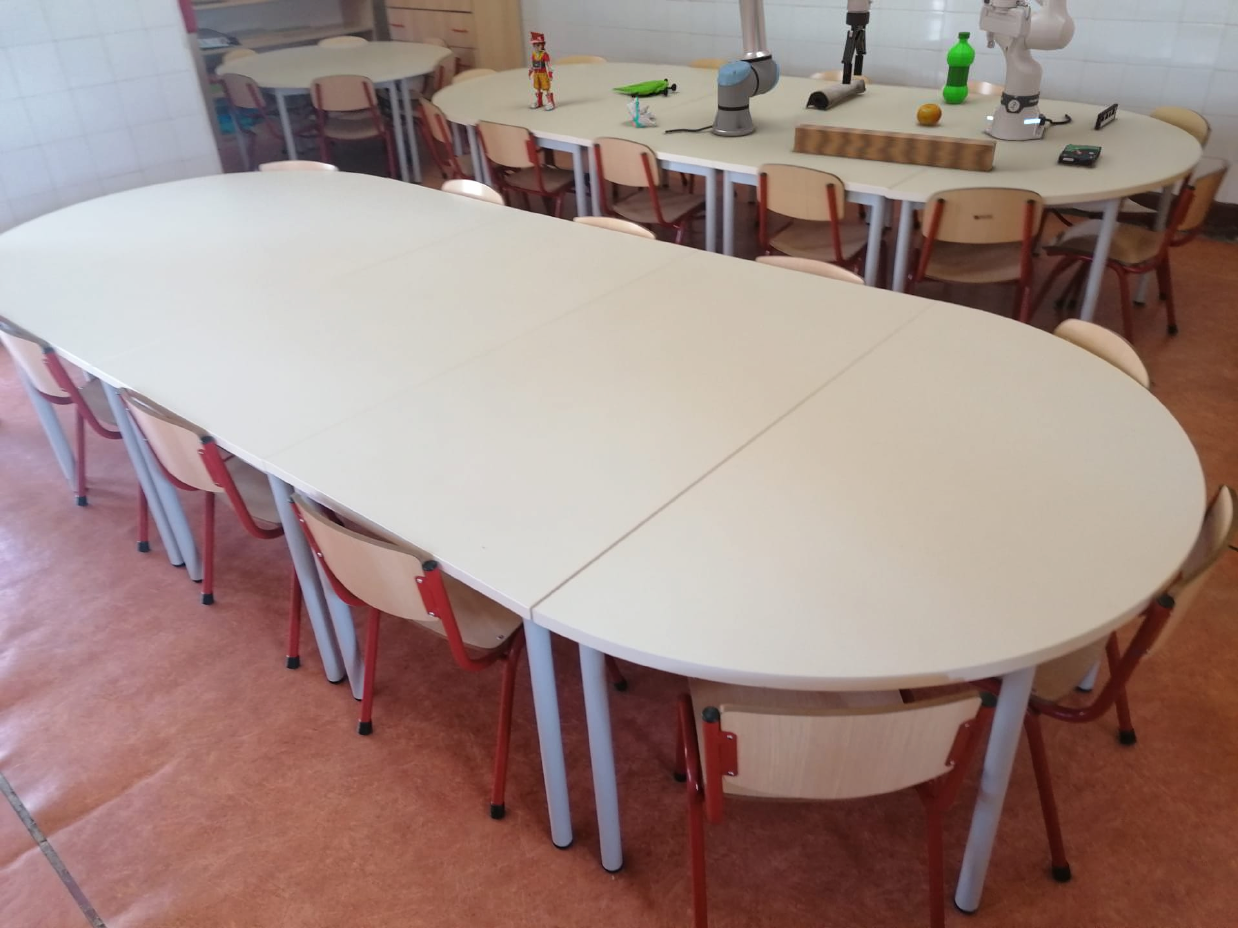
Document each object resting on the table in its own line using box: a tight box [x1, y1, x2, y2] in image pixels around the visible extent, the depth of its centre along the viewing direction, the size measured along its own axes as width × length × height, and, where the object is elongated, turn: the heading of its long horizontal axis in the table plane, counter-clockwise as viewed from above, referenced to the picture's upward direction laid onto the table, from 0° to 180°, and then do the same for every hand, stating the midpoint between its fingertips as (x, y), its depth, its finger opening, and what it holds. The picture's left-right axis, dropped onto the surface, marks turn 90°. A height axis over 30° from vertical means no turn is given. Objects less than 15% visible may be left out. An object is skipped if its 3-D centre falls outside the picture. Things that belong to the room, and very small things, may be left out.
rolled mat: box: [805, 78, 867, 111], centre depth 364 cm, size 30×9×10 cm
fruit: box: [916, 103, 943, 126], centre depth 329 cm, size 8×8×8 cm
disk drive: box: [1057, 143, 1102, 167], centre depth 287 cm, size 10×3×15 cm
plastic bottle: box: [942, 31, 976, 104], centre depth 348 cm, size 10×10×25 cm
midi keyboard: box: [1094, 103, 1119, 130], centre depth 318 cm, size 18×1×5 cm, turn 138°
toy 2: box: [612, 78, 677, 99], centre depth 396 cm, size 28×5×30 cm
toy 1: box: [527, 31, 556, 111], centre depth 374 cm, size 12×9×30 cm
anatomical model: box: [625, 97, 657, 128], centre depth 351 cm, size 15×10×10 cm
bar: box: [793, 123, 998, 172], centre depth 297 cm, size 65×6×8 cm, turn 59°
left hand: (852, 80), depth 307 cm, fingers open, 13 cm apart
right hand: (999, 50), depth 271 cm, fingers open, 8 cm apart
